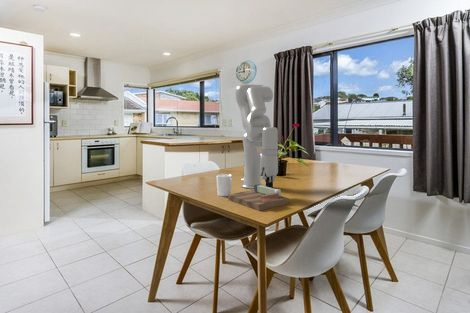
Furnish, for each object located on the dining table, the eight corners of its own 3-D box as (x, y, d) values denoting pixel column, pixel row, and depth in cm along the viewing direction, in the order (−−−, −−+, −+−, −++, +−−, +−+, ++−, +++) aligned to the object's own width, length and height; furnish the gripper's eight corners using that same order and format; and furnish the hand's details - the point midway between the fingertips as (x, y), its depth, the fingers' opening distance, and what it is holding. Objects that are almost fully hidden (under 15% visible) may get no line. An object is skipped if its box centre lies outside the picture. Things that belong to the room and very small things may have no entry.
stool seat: (228, 199, 136) (228, 188, 136) (256, 194, 147) (256, 183, 146) (258, 210, 119) (258, 197, 118) (288, 203, 129) (288, 191, 129)
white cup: (225, 192, 151) (225, 173, 150) (235, 195, 145) (235, 175, 144) (213, 194, 146) (213, 175, 145) (222, 197, 140) (222, 177, 139)
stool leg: (281, 196, 130) (281, 189, 130) (277, 197, 129) (277, 190, 128) (258, 190, 143) (258, 184, 143) (254, 191, 141) (254, 184, 141)
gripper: (271, 151, 147) (271, 186, 149) (254, 153, 135) (254, 191, 137) (284, 152, 142) (283, 188, 144) (267, 154, 130) (267, 193, 132)
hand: (269, 189), depth 140 cm, fingers closed
